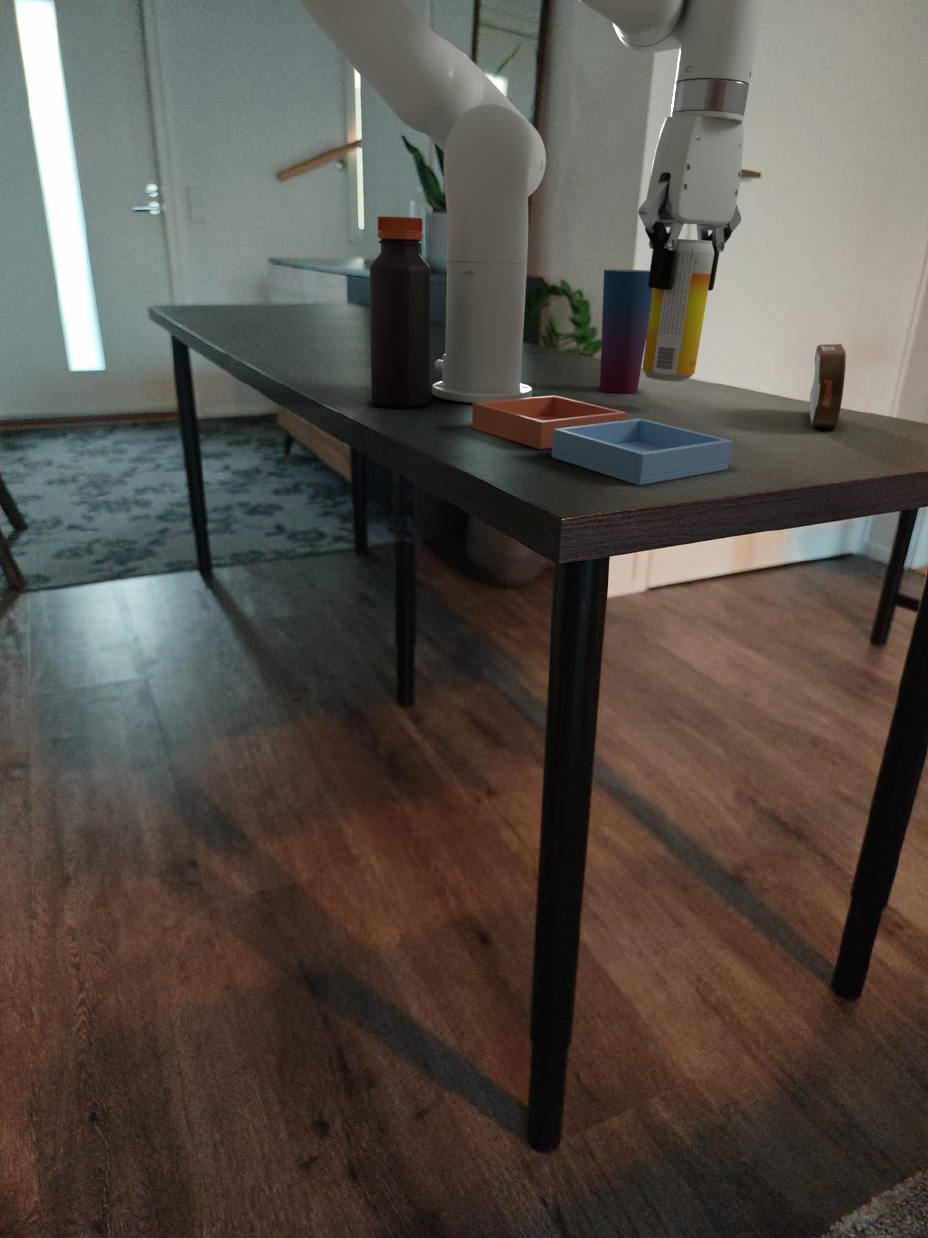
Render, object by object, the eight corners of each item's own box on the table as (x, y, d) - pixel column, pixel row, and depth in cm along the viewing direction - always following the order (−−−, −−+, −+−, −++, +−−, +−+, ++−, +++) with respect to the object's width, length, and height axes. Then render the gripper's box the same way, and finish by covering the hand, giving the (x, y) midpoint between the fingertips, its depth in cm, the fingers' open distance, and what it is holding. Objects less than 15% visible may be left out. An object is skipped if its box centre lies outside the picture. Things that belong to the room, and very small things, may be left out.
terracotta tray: (471, 427, 89) (472, 402, 88) (552, 418, 95) (554, 395, 94) (539, 449, 81) (541, 422, 80) (624, 438, 87) (627, 412, 86)
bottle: (373, 397, 104) (370, 216, 96) (428, 399, 104) (431, 218, 96) (369, 408, 98) (366, 215, 90) (429, 409, 98) (431, 217, 90)
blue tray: (551, 457, 79) (553, 428, 77) (637, 444, 85) (640, 418, 83) (639, 485, 70) (643, 454, 69) (727, 469, 76) (732, 440, 75)
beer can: (694, 376, 103) (716, 241, 97) (692, 384, 98) (715, 240, 91) (643, 371, 104) (662, 237, 98) (639, 378, 99) (658, 237, 93)
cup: (641, 387, 118) (654, 270, 112) (646, 395, 112) (660, 272, 106) (592, 384, 119) (602, 268, 113) (594, 392, 112) (605, 270, 106)
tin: (837, 435, 92) (854, 354, 88) (806, 432, 93) (821, 351, 89) (830, 412, 105) (844, 340, 101) (803, 409, 106) (816, 338, 102)
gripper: (732, 117, 97) (705, 287, 104) (624, 97, 87) (602, 285, 95) (789, 113, 91) (755, 292, 99) (679, 91, 82) (651, 291, 89)
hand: (680, 287), depth 97 cm, fingers closed on beer can, 6 cm apart
